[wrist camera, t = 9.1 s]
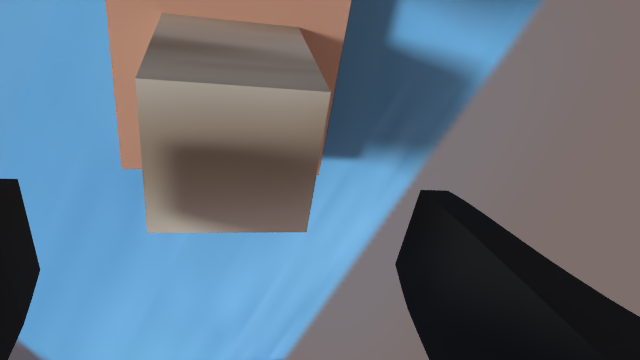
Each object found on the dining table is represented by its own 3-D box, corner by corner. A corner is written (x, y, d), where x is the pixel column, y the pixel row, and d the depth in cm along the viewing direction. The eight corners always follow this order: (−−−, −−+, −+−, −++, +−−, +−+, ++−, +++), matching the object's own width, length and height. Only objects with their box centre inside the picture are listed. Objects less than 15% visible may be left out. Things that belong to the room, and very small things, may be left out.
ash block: (284, 140, 16) (306, 232, 12) (166, 135, 15) (147, 232, 11) (298, 27, 14) (330, 92, 10) (161, 12, 13) (135, 78, 9)
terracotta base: (309, 148, 19) (318, 175, 17) (130, 140, 17) (121, 168, 15) (340, -33, 15) (355, -21, 13) (114, -67, 13) (99, -58, 12)
